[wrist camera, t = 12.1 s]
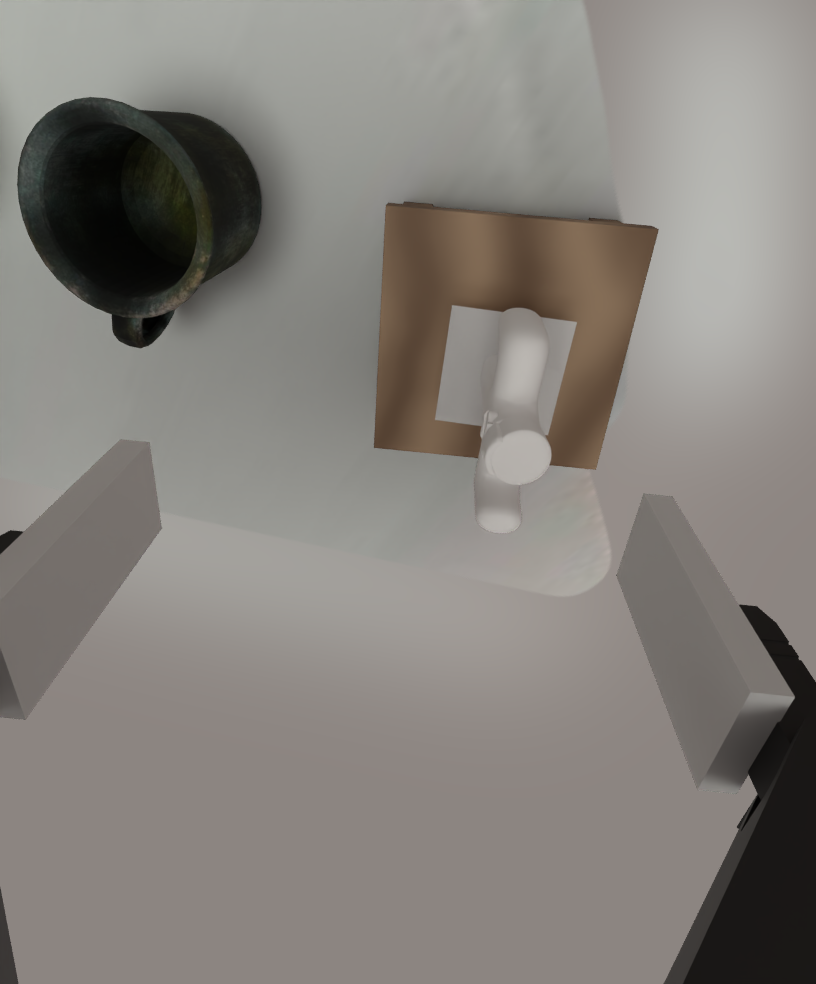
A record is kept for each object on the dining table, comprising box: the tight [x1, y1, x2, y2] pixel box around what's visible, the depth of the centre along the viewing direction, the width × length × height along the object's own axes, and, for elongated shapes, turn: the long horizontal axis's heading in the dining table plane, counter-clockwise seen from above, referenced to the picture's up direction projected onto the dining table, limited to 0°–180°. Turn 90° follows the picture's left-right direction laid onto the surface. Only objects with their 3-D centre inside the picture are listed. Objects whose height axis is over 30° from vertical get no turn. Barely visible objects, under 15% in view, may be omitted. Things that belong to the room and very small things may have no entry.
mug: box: [17, 97, 261, 348], centre depth 40 cm, size 11×15×12 cm
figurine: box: [435, 305, 577, 534], centre depth 34 cm, size 7×9×15 cm
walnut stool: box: [374, 202, 658, 469], centre depth 44 cm, size 16×16×8 cm
